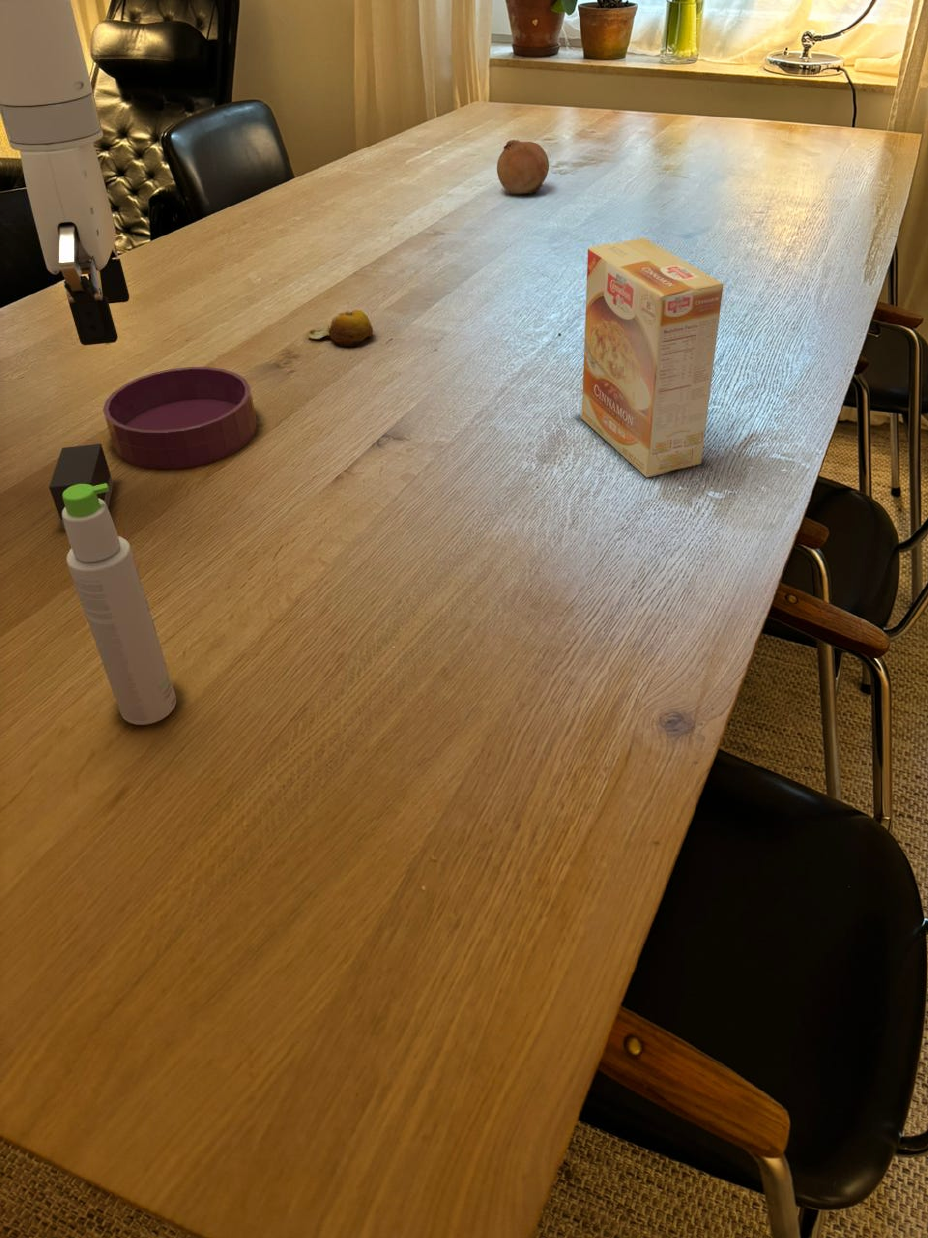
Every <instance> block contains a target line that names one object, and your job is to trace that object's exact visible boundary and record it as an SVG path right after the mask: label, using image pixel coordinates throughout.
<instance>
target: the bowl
mask: <svg viewBox="0 0 928 1238" xmlns="http://www.w3.org/2000/svg"><path fill="white" fill-rule="evenodd" d="M102 411H103V415H104V418H105V421H106V426H107V428H108V432H109V435H110V439H111V442H112V445H113V448H114V451H115V452H116V454H117V455H118V457H119V458H121V459H122V460H123V461H125V462H127V463H129V464H131V465H134V466H137V467H141V468H146V469H152V470H153V469H154V470H177V469H178V470H179V469H187V468H192V467H197V466H202V465H207V464H210V463H212V462H215V461H219V460H222V459H224V458H226V457H228V456H230V455H232V454H234V453H236V452H237V451H239V450H240V449H242V448H243V447H244V446H245V445H247V444H248V443H249V442H250V441H251V440H252V439H253V437H254V435H255V433H256V432H257V416H256V410H255V405H254V400H253V394H252V388H251V386H250V384H249V382H248V381H247V379H246V378H244V377H243V376H241V375H240V374H239V373H236V372H234V371H231V370H228V369H224V368H218V367H211V366H185V367H176V368H170V369H165V370H160V371H155V372H152V373H149V374H146V375H143V376H140V377H138V378H135V379H133V380H132V381H128V382H127V383H125V384H123V385H121V386H120V387H119V388H117V389H116V390H115V391H113V392H112V393H111V394H110V395H109V397H108V398H107V399H106V400H105V401H104V405H103V410H102Z"/></svg>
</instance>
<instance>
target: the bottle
mask: <svg viewBox="0 0 928 1238" xmlns="http://www.w3.org/2000/svg"><path fill="white" fill-rule="evenodd" d="M108 491H109V488H108V485H107V483H104V484H100V485H96V486H91V485H89V484H77V485H73V486H71V487H69V488H67V489H66V490H65V491H64V492H63V495H62V497H63V501H64V504H65V508H64V509H63V511H62V518H63V522H64V526H65V533H66V536H67V539H68V542H69V545H70V550H69V551H68V553H67V555H66V565H67V567H68V570H69V572H70V575H71V578H72V581H73V584H74V586H75V589H76V593H77V595H78V599H79V601H80V602H81V603H80V604H81V606H82V609H83V612H84V615H85V618H86V621H87V623H88V627H89V629H90V631H91V635H92V637H93V640H94V643H95V646H96V648H97V651H98V654H99V657H100V660H101V662H102V666H103V668H104V671H105V674H106V677H107V679H108V683H109V685H110V688H111V691H112V694H113V696H114V699H115V701H116V704H117V708H118V710H119V713H120V715H121V717H122V719H123V720H124V721H126V722H127V723H129V724H132V725H135V726H146V725H151V724H155V723H158V722H160V721H163V719H165V718H167V717H168V716H169V715H170V714H171V713H172V712H173V710H174V709H175V707H176V704H177V696H176V692H175V689H174V686H173V683H172V679H171V676H170V672H169V669H168V665H167V663H166V662H167V661H166V659H165V656H164V653H163V650H162V646H161V643H160V640H159V636H158V632H157V630H156V627H155V623H154V620H153V617H152V613H151V609H150V607H149V602H148V600H147V597H146V593H145V590H144V587H143V583H142V580H141V576H140V573H139V569H138V566H137V564H136V560H135V557H134V553H133V551H132V547H131V544H130V542H129V541H128V540H127V539H126V538H123V537H122V536H119V535H118V532H117V528H116V525H115V523H114V520H113V517H112V515H111V512H110V510H109V506H108V507H107V505H106V503H105V502H104V501H103V500H101V499H98V497H97V494H100V493H104V492H108Z"/></svg>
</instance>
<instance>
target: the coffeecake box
mask: <svg viewBox="0 0 928 1238" xmlns="http://www.w3.org/2000/svg"><path fill="white" fill-rule="evenodd" d="M586 264H587V265H586V266H587V267H586V290H585V291H586V293H585V318H584V343H583V344H584V345H583V346H584V347H583V371H582V372H583V373H582V394H581V395H582V396H581V397H582V398H581V415H580V419H581V420H582V421H583V422H584V423H586V424H587V425H588V426H589V427H590V428H591V429H592V430H593V431H595V432H596V433H597V434H598V435H599V436H600V437H601V438H602V439H603V440H604V441H605V442H607V443H608V444H609V445H610V446H611V447H612V448H613V449H614V450H616V451H617V452H618V453H619V454H620V455H621V456H622V457H623V458H624V459H625V460H627V462H628V463H630V464H631V465H632V466H633V467H634V468H635V469H636V470H637V471H639V472H640V473H641V474H642V475H643V476H644V477H645V478H650V477H656V476H660V475H663V474H666V473H669V472H672V471H676V470H681V469H686V468H690V467H694V466H698V465H701V464H702V461H703V460H702V459H703V452H704V451H703V450H704V443H705V436H706V435H705V434H706V428H707V420H708V411H709V405H710V396H711V388H712V380H713V373H714V365H715V356H716V349H717V341H718V333H719V325H720V317H721V316H720V315H721V307H722V301H723V293H724V286H725V284H724V282H721V281H719V280H717V279H716V278H714V277H712V276H711V275H709V274H708V273H705V272H704V271H702V270H701V269H699V268H697V267H695V266H694V265H692V264H690V263H689V262H687V261H685V260H683V259H682V258H681V257H679V256H677V255H675V254H674V253H672V252H671V251H668V250H667V249H665V248H663V247H661V246H659V245H658V244H656V243H654V242H652V241H651V240H649V239H648V238H646V237H641V238H640V237H639V238H635V239H629V240H624V241H618V242H606V243H602V244H597V245H593V246H589V247H587V263H586Z"/></svg>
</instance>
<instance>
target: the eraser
mask: <svg viewBox="0 0 928 1238" xmlns="http://www.w3.org/2000/svg"><path fill="white" fill-rule="evenodd" d="M104 483H107V485H108V488H109V491H108V492H104V493H100V494H97V497H98V499H101V500H103V501H104V502H105V503H106V505H107V507H108V508H109V506H110V502H111V499H112V498H111V497H112V493H113V489H114V481H113V478H112V475H111V471H110V467H109V465H108V462H107V458H106V455H105V451H104V448H103V445H102V443H94V444H85V445H75V446H65V447H62V448H61V450H60V453H59V455H58V459H57V462H56V465H55V468H54V471H53V474H52V476H51V480H50V483H49V486H48V489H49V491H50V494H51V497H52V500H53V503H54V505H55V509H56V511H57V514H58V517H59V521H60V524H61V526H62V529H63V530H65V526H64V522H63V518H62V511H63V509H64V508H65V504H64V501H63V497H62V495H63V492H64V491H65V490H66V489H67V488H69V487H71V486H73V485H77V484H89V485H91V486H96V485H100V484H104ZM65 531H66V530H65Z"/></svg>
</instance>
